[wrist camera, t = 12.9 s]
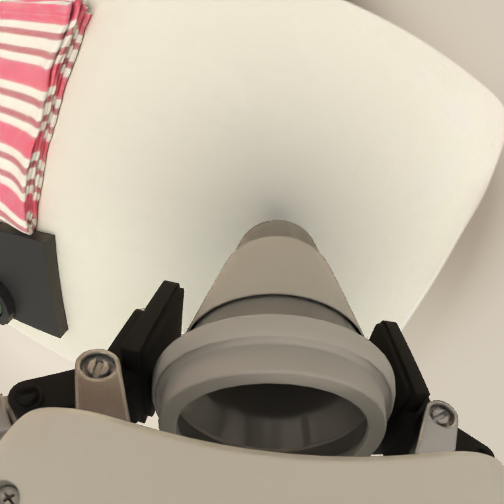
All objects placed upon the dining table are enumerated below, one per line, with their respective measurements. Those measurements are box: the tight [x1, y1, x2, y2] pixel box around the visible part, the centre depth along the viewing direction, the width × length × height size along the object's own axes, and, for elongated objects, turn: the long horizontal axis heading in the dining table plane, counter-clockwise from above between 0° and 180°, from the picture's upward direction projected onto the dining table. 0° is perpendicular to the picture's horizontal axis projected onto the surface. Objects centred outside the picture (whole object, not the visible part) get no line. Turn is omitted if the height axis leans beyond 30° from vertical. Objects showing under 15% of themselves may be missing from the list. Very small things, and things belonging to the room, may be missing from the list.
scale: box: [0, 222, 68, 338], centre depth 28 cm, size 12×13×4 cm
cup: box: [151, 220, 396, 457], centre depth 12 cm, size 7×7×12 cm
